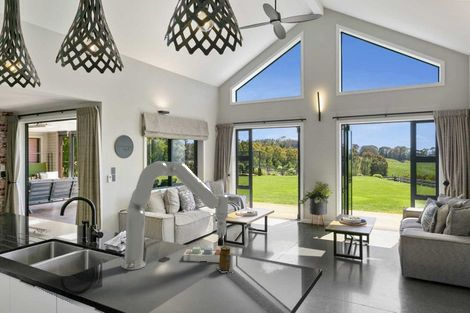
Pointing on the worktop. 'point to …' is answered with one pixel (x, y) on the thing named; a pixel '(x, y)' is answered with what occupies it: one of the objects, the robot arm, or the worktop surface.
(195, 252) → the key sage
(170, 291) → the worktop surface
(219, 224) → the robot arm
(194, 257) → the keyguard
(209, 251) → the key slate
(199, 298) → the worktop surface
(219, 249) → the orange cube
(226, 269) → the condiment
